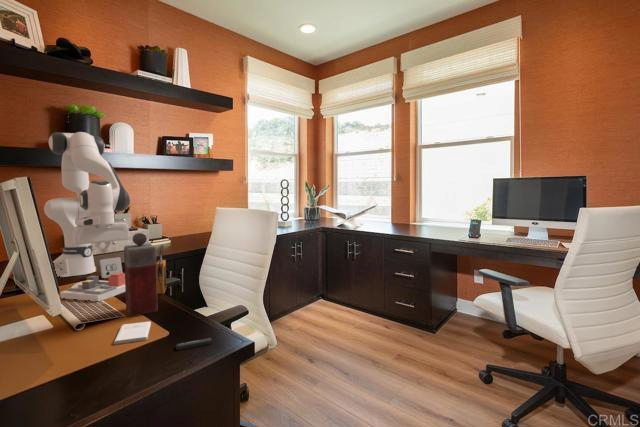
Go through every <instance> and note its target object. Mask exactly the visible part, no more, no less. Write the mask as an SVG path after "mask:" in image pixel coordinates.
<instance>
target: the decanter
mask: <svg viewBox="0 0 640 427" xmlns="http://www.w3.org/2000/svg"><path fill="white" fill-rule="evenodd" d="M132 242H133V243H134V244H130V245H129V244H126V245H125V246H124V247H123V252H124V253H123V255H124V256H123V257H124V258H123V259H124V273H125V290H126V292H125V309H126V312H127V315H128V317H134V316H140V315H145V314H149V313H155V312H158V311H159V310H158V308H159V307H158V297H157V296H158V294H157V268H156V263H157V247H155V246H154V245H153V244H151V243H146V242H147V236H146V235H145V234H144V233H143V232H136V233H135V234H133V236H132Z"/></svg>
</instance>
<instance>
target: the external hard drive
mask: <svg viewBox="0 0 640 427" xmlns="http://www.w3.org/2000/svg"><path fill="white" fill-rule="evenodd" d="M151 325H152V322H151V321H142V322H134V323H125V324H122V325H121V327H120V328H119V331H118V333H117V335H116V337H115V339H114V342H113V345H122V344H128V343H134V342H136V343H137V342H143V341H147V340H148V338H149V333H150V330H151Z"/></svg>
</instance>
